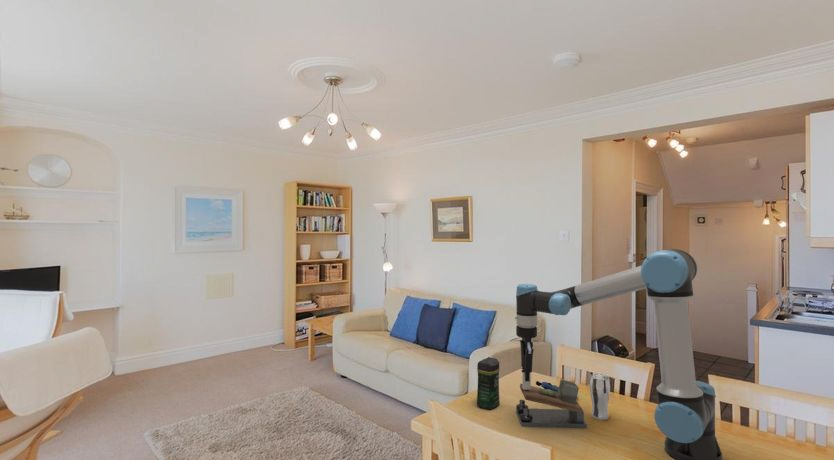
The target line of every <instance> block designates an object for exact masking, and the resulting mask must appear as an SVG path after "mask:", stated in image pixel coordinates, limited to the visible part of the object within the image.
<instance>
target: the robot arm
mask: <svg viewBox="0 0 834 460" xmlns="http://www.w3.org/2000/svg"><path fill="white" fill-rule="evenodd" d="M697 272H698V264H697V262H696V260H695V258H694V257H693V256H692V255H691V254H690V253H688V252H686V251H685V250H681V249H676V248H674V249H662V250H658V251H655V252H653V253H651V254H650V255H648V256H647V257H646V258H645V259H644V260H643V262H642V265H639V266H636V267H635V266H634V267H632V268H629V269H625V270H622V271H619V272H617V273H612V274H609V275H605V276H604V277H600V278H597V279H592V280H590V281H587V282H583V283H580V284H577V285H574V286H570V287H566V288H564V289H559V290H555V291H541V290H538V286H537V285H536V284H533V283H521V284H518V285H517V286H516V295H515V297H516V303H515V304H516V316H514V319H515V321H516V327H515V330H516V333H515V334H516V336H517V337H518V338H521V339H520V340H519V343H520V344H519V345H520V358H521V359H520V363H521V364H520V365H521V366H520V367H521V373H522V377H521V378H522V383H521V384H522V388H523V389H525V390H531V386H532V383H531V378H532V377H531V376H532V375H531V374H532V372H533V357H534V351H535V349H534V348H533V347H534V342H532V339H535V338H537V337H538V327H537V326H538V313H543V314H544V313H545V314H550V315H555V316H567V315H568V314H569V312H570V311H571V309H574V308H578V307H582V306H585V305H588V304H589V305H590V304H592V303H596V302H600V301H603V300H607V299H612V298H615V297H618V296H623V295H627V294H630V293H634V292H637V291H641V290H646V291H647V292H646V293H647V294H646V295H647V298H649V299H650V300H652V302H653V305H654V315H655V328H656V336H657V338H656V339H657V347H658V357H659V365H660V366H659V369H660V370H659V371H660V377H661V378H660V379H661V382H660V383H659V384H658V385H657V386H656V398H657V406H656V408H655V410H654V414H653V415H654V422H655V424H656V427H657V428H658V429H659V431H660V432H661V433H662V434H663V435H664V436H666V437H665V439H664V451H665V452H666V454H667V453H668V454H667V455H668V456H670V455H671V456H672V457H671V456H670V457H671V458H673V457H674V458H676V459H678V460H723V453H722V449H721V448H720V444H719V442H718V438H717V437H716V397H717V396H716V391H715V388H714V386H712V385H711V384H709V383H706V382H703V381H700V380H696V370H695V360H694V351H693V342H692V341H693V339H692V331H691V330H692V329H691V322H690V320H691V319H690V313H689V312H690V311H689V301H690V300H691V299H692V298H693V297H694V288H693V280H694V279H695V277H696V276H697ZM674 458H673V459H674ZM676 459H675V460H676Z"/></svg>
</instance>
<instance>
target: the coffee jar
mask: <svg viewBox="0 0 834 460" xmlns="http://www.w3.org/2000/svg"><path fill="white" fill-rule="evenodd" d="M476 366H477V368H476V370H477V371H476V372H477V390H476V391H477V393H476V404H477V406H478V407H480V408H481V409H485V410H486V409H487V410H488V409H489V410H493V409H495V408H496V407H498V405H500V361H499V360H498V359H497V358H496V357H495V358H494V357H490V356H488V357H485V358H483V359H481V360H480V361H478V362H477V365H476Z"/></svg>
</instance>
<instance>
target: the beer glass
mask: <svg viewBox="0 0 834 460" xmlns="http://www.w3.org/2000/svg"><path fill="white" fill-rule="evenodd" d="M589 392H590V393H589V394H590V399H591V404H592V407H591V408H592V409H591V412H590V414H591V417H592V418H594V419H596V420H599V421H606V420H609V418H610V417H609V411H608V408H609V407H608V405H609V401H610V395H611V385H610V377H609V376H607V375H606V374H599V373H593V374H591V375H590V380H589Z"/></svg>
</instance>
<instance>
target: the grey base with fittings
mask: <svg viewBox="0 0 834 460" xmlns="http://www.w3.org/2000/svg"><path fill="white" fill-rule="evenodd" d="M515 407H516V408H515V413H516V416H517V419H518V421H519V424H520V426H521V427H526V428H529V427H532V428H556V429H557V428H559V429H560V428H561V429H588V424H587V421H585V411H584V410H583V409H582V412H581V413H580V412H576V411H572V410H567V409H563V408H560V409H559V408H558V409H557V408H529V405H527V404H526V400H525V399H519V403H518V404H516V406H515Z"/></svg>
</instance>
